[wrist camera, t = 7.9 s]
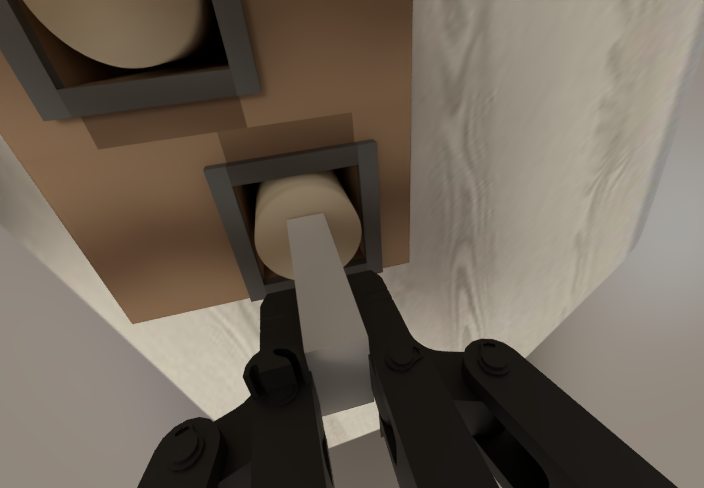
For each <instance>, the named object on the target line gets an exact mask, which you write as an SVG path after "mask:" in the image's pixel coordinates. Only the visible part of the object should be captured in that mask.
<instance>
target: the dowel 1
mask: <svg viewBox="0 0 704 488" xmlns="http://www.w3.org/2000/svg"><path fill="white" fill-rule="evenodd" d="M23 1H24V2H25V4H26V5H27V7H28V8H29V9H30V10H31V11H32V12H33V14H34V15H35V16H36V17H37V18H38V19H39V21H41V22H42V23H43V24H44V25H45V26H46V27H47V28H48V29H49V30H50V31H51V32H52V33H53V34H54V35H56V36H57V37H58V38H59V39H60V40H62V41H63V42H65V43H66V44H67V45H69V46H70V47H72V48H73V49H75V50H77V51H78V52H80V53H82V54H84V55H85V56H87V57H90V58H92V59H94V60H96V61H99V62H102V63H105V64H108V65H112V66H117V67H121V68H145V67H150V66H155V65H159V64H164V63H168V62H172V61H177V60H181V59H185V58H190V57H194V56H198V55H200V54H203V53H205V52H206V51H208V50H209V49H210V48H211V47H212V46H213V45H214V44H215V43H216V41H217V40H218V38H219V36H220V34H221V33H220V29H219V25H218V21H217V18H216V14H215V10H214V6H213V3H212V0H23Z"/></svg>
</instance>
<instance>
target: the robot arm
mask: <svg viewBox="0 0 704 488" xmlns="http://www.w3.org/2000/svg"><path fill="white" fill-rule="evenodd" d="M286 221H287V229H288V236H289V243H290V251H291V258H292V266H293V273H294V280H295V288H292V289H287V290H283V291H278V292H274V293H269V294H267V295H266V297H265V299H264V300H263V302H262V304H261V306H260V321H261V322H260V332H261V333H260V351H259V352H258V353H257V354H255V355H254V356H253V357H252V358H251V359H250V361H249V362H248V364H247V365H246V367H245V370H244V374H243V379H244V381H245V383H246V385H247V387H248V389H249V391H250V394H251V396H250V397H249V398H248V399H247V400H246V401H245V402H244V403H243V404H241V405H240V406H239V407H237V408H236V409H234V410H233V411H231V412H229V413H228V414H226V415H224V416H223V417H221V418H219V419H218V420H216V421H214V422H213V421H212V420H210V419H207V418H202V417H198V418H194V419H189V420H186V421H185V422H183V423H181V424H179V425H178V426H176V427H174V428H173V429H172V430H171V431H170V432H169V433H168V434H167V435H166V436H165V437H164V438H163V439H162V441H161V442H160V444H159V445H158V447H157V448H156V450H155V451H154V453H153V456H152V458H151V460H150V462H149V464H148V466H147V468H146V470H145V472H144V474H143V477H142V479H141V481H140V483H139V485H138V487H137V488H335V487H334V481H333V475H332V469H331V462H330V457H329V451H328V444H327V439H326V435H325V431H324V427H323V420H322V416H326V415H329V414H333V413H336V412H340V411H343V410H347V409H350V408H354V407H357V406H361V405H364V404H368V403H371V402H374V398H375V401H376V404H377V408H378V411H379V421H380V432H381V437H384V438H385V441H386V445H387V448H388V451H389V454H390V458H391V461H392V464H393V467H394V471H395V474H396V477H397V481H398V484H399V487H400V488H499V486H498V484H497V482H496V481H495V479H496V480H497V481H498V483H499V484H500V485H501V487H502V488H678V487H677V486H675V485H674V484H673V483H672V482H671V481H669V480H668V479H667V478H666V477H665V476H663V475H662V474H661V473H660V472H659V471H658V470H656V469H655V468H654V467H653V466H652V465H650V464H649V463H648V462H647V461H646V460H644V459H643V458H642V457H641V456H640V455H639V454H637V453H636V452H635V451H634V450H632V448H630V447H629V446H628V445H627V444H625V443H624V442H623V441H622V440H621V439H620V438H618V437H617V436H616V435H615V434H614V433H612V432H611V431H610V430H609V429H608V428H606V427H605V426H604V425H603V424H602V423H601V422H600V421H598V420H597V419H596V418H595V417H594V416H592V415H591V414H590V413H589V412H588V411H586V410H585V409H584V408H583V407H582V406H581V405H579V404H578V403H577V402H576V401H574V400H573V399H572V398H571V397H570V396H569V395H568V394H566V393H565V392H564V391H563V390H562V389H560V388H559V387H558V386H557V385H556V384H555V383H553V382H552V381H551V380H550V379H549V378H547V377H546V376H545V375H544V374H543V373H541V372H540V371H539V370H538V369H537V368H536V367H534V366H533V365H532V364H531V363H529V362H528V361H527V360H526V359H525V358H524V357H523V356H521V355H520V354H519V353H518V352H517V351H515V350H514V349H513V348H511V347H510V346H508V345H506V344H505V343H503V342H500V341H497V340H494V339H479V340H476V341H473V342H471V343H470V344H469V345H468V346H467V347H466V349H465V352H448V351H437V350H432V349H429V348H426V347H425V346H423V345H421V344H420V343H418V342H417V341H416V340H415V339H414V338H413V337H412V335H411V334H410V332H409V330H408V328H407V326H406V324H405V322H404V320H403V318H402V316H401V314H400V313H399V311H398V309H397V307H396V305H395V303H394V301H393V300H392V297H391V295H390V293H389V291H388V290H387V287H386V285H385V283H384V281H383V279H382V277H380V276H379V275H378V274H376V273H375V272H374V271H372V270H368V271H363V272H359V273H354V274H350V275H346V274H345V271H344V269H343V266H342V263H341V260H340V257H339V255H338V252H337V249H336V246H335V244H334V241H333V238H332V235H331V232H330V230H329V227H328V224H327V221H326V219H325V216H324V213H320V214H315V215H310V216H304V217H299V218H294V219H289V220H286ZM493 476H494V477H495V479H494V477H493Z"/></svg>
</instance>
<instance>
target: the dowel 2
mask: <svg viewBox="0 0 704 488" xmlns="http://www.w3.org/2000/svg"><path fill="white" fill-rule="evenodd" d="M320 213H324V216H325V219H326V221H327V224H328V227H329V230H330V232H331V235H332V238H333V241H334V244H335V246H336V249H337V252H338V255H339V257H340V260H341V263H342V266H343V267H344V266H345V265H346V264H347V263H348V262H349V261H350V260H351V259H352V257H353V256H354V255H355V253H356V251H357V249H358V247H359V244H360V240H361V223H360V220H359V217H358V215H357V213H356V211H355V209H354V207H353V205H352V204H351V202H350V200H349V198H348V196H347V194H346V193H345V191H344V189H343V187H342V185H341V183H340V182H339V180H338V178H337V176H336V174H335V172H334V171H333V169H331V170H326V171H320V172H314V173H308V174H302V175H297V176H291V177H285V178H279V179H274V180H268V181H262V182H257V189H256V214H255V246H256V250H257V252H258V255H259V257H260V258H261V260H262V261H263V263H264V264H265V265H266V266H267V267H268V268H269V269H270V270H272V271H273V272H275V273H276V274H278V275H280V276H283V277H285V278H289V279H292V280H294V273H293V266H292V258H291V251H290V243H289V236H288V229H287V221H286V220H289V219H294V218H299V217H304V216H310V215H315V214H320Z"/></svg>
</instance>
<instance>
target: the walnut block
mask: <svg viewBox="0 0 704 488" xmlns="http://www.w3.org/2000/svg"><path fill="white" fill-rule="evenodd" d="M212 3H213V6H214V10H215V14H216V18H217V21H218V25H219V29H220V33H221V36H222V40H223V44H224V47H225V51H226V55H227V59H226V60H217V61H209V62H200V63H191V64H183V65H174V66H165V67H157V68H148V69H143V68H121V67H117V66H112V65H108V64H105V63H102V62H99V61H96V60H94V59H92V58H90V57H87V56H85V55H84V54H82V53H80V52H78V51H77V50H75V49H73V48H72V47H70V46H69V45H67V44H66V43H65V42H63V41H62V40H60V39H59V38H58V37H57V36H56V35H54V34H53V33H52V32H51V31H50V30H49V29H48V28H47V27H46V26H45V25H44V24H43V23H42V22H41V21H39V19H38V18H37V17H36V16H35V15H34V14H33V12H32V11H31V10H30V9H29V8H28V7H27V5H26V4H25V2H24V1H23V0H0V134H1V136H2V137H3V138H4V140H5V141H6V143H7V144H8V146H9V147H10V149H11V150H12V151H13V153H14V154H15V156H16V157H17V159H18V160H19V161H20V163H21V164H22V166H23V167H24V169H25V170H26V172H27V173H28V174H29V176H30V177H31V179H32V180H33V182H34V183H35V185H36V186H37V187H38V189H39V190H40V192H41V193H42V195H43V196H44V197H45V199H46V200H47V202H48V203H49V205H50V206H51V208H52V209H53V210H54V212H55V213H56V215H57V216H58V218H59V219H60V221H61V222H62V223H63V225H64V226H65V228H66V229H67V231H68V232H69V233H70V235H71V236H72V238H73V239H74V241H75V242H76V244H77V245H78V246H79V248H80V249H81V251H82V252H83V254H84V255H85V256H86V258H87V259H88V261H89V262H90V264H91V265H92V267H93V268H94V269H95V271H96V272H97V274H98V275H99V277H100V278H101V280H102V281H103V282H104V284H105V285H106V287H107V288H108V290H109V291H110V292H111V294H112V295H113V297H114V298H115V300H116V301H117V303H118V304H119V305H120V307H121V308H122V310H123V311H124V313H125V314H126V315H127V317H128V318H129V320H130V321H131V323H132V324H135V323H140V322H144V321H149V320H153V319H158V318H162V317H167V316H171V315H176V314H180V313H185V312H189V311H193V310H198V309H202V308H207V307H211V306H216V305H220V304H225V303H229V302H234V301H238V300H243V299H247V298H250V299H251V302H253V301H257V300H262V299H265V297H266V295H267V294H269V293H274V292H278V291H283V290H287V289H292V288H295V280H292V279H289V278H285V277H283V276H280V275H278V274H276V273H275V272H273V271H272V270H270V269H269V268H268V267H267V266H266V265H265V264H264V263H263V261H262V260H261V258H260V257H259V255H258V252H257V250H256V246H255V214H256V189H257V183H256V182H262V181H268V180H274V179H279V178H285V177H291V176H297V175H302V174H308V173H314V172H320V171H326V170H331V169H333V171H334V172H335V174H336V176H337V178H338V180H339V182H340V183H341V185H342V187H343V189H344V191H345V193H346V194H347V196H348V198H349V200H350V202H351V204H352V205H353V207H354V209H355V211H356V213H357V215H358V217H359V220H360V223H361V240H360V244H359V247H358V249H357V251H356V253H355V255H354V256H353V257H352V259H351V260H350V261H349V262H348V263H347V264H346V265H345V266H344V267H343V269H344V271H345V274H346V275H350V274H354V273H359V272H363V271H368V270H372V271H374V272H375V273H376V274H377V273H381V272H383V268H386V267H390V266H395V265H399V264H404V263H408V262H409V235H410V159H411V83H412V6H413V0H212Z"/></svg>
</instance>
